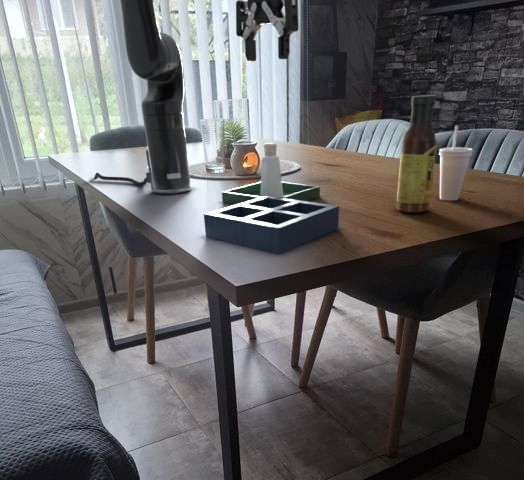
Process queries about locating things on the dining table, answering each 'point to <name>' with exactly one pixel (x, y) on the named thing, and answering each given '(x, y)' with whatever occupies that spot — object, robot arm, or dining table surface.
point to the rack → (272, 223)
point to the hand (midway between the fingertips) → (266, 60)
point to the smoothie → (453, 169)
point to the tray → (289, 192)
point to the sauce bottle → (417, 158)
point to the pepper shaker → (271, 173)
